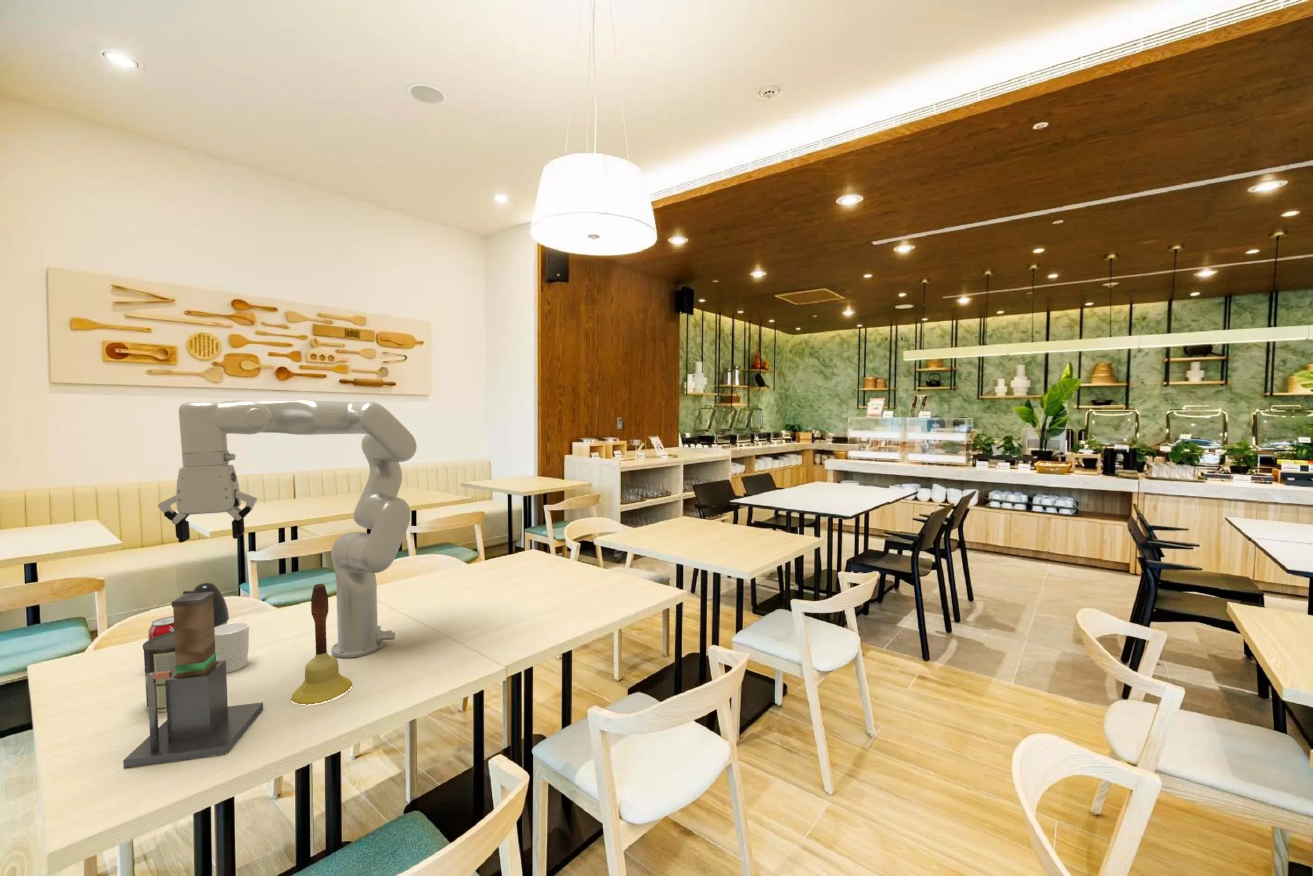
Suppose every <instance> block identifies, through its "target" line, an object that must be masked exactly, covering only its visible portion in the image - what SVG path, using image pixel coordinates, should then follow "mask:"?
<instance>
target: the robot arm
mask: <svg viewBox="0 0 1313 876" xmlns="http://www.w3.org/2000/svg"><path fill="white" fill-rule="evenodd" d="M178 418H179V420H178V421H179V431H180V432H179V433H180V444H181V457H182V458H181V459H182V466H181V467H179V470H178V474H177V479H176V480H177V481H176V490H175V491H176V494H175V495H174V496H172V497H170V498H167V499H165V500H163V501H161V502H160V503H158V504H157V507H158V508H159V510H160V511H161V513H163V516H164V517H165V518H167V519H168V520H169V521H171V523H172V524H173V525H175V537H176V538H177V540H178V543H185V542H186V541H188V540H190V539H191V538H190V537H191V535H190V533H191V531H190V525H189V524H190V522H189V521H188V520H187V518H188V517H189V516H190V515H202V514H203V515H205V514H220V513H227V514H228V515H229V516H231V517H232V518H233V520H231V532H232V539H240V538H241V537H242V536H243V534H244V533H245V517H247V516H248V514H250V512H252V510H253V508H254V507H255V505H256V503H257V501H258V499H257V497H256V496H253V495H250V494H247V493H245V492H242V491H240V490H241V489H240V484H239V481H238V480H239V479H238V476H237V471H236V468H235V466H234V464H229V463H230V461H235V460H236V454H235V453H230V451H229V450H228V439H227V435H228V434H235V435H257V434H259V433H260V434H263V433H269V434H271V433H272V434H275V433H276V434H288V435H301V436H302V435H305V436H308V435H309V436H310V435H311V436H314V435H318V436H319V435H349V434H350V435H354V434H356V435H357V434H360V435H364V436H363V438H362V440H361V450H362V452H363V454H364V457H365V458H366V460H367V463H368V466H369V475H368V477H367V481H366V484H365V486H364V488H363V490H362V492H361V495H360V497H359V500H358V501H357V503H356V506H355V508H354V512H353V521H354V522H355V524H356V525H357V526H359V527H361V528H364V529H369V530H370V533H366V532H360V531H349V532H346V533H344V534H342V535H340V536H338V537H337V538H336V539H335V541H334V543H333V544H332V547H331V554H330V555H331V561H332V566H333V570H334V575H335V584H336V585H335V586H336V616H337V617H336V618H337V621H336V623H337V624H336V625H337V642H336V643H335V644H334V645H332V646H331V650H330V651H331V654H332V656H334V657H335V658H341V659H342V658H343V659H346V658H347V659H348V658H350V657H351V658H358V657H363V656H366V655H369V654H372V653H374V651H375V652H376V650H377V651H378V650H380V649H381V648H383V646H384V645H385V641H390V640H391V641H393V640H395V638H396V632H395V631H394V632H393V630H392V629H390V630H389V629H388V630H383V629H382V626H381V625H378V623H379V622H378V597H377V596H378V595H377V594H378V593H377V591H378V590H377V589H378V588H377V587H378V585H377V577H376V574H378V573H382V572H384V571H386V570H387V569H388V568H389V567H390V566H391V565H392V563H393V562H394V560H395V559H396V557H397V556H398V555H397V554H398V552H399V550H400V548H401V545H402V542H403V540H404V538H405V535H406V532H407V531H408V528H409V525H410V522H411V521H410V520H411V508H410V506H409V504H408V502H407V501H406V500H404V499H403V498H401V497H398V494H399V491H400V488H401V485H402V481H403V473H402V472H403V471H402V467H401V465H400V463H403V462H407V461H410V460H411V459H412V458H413V457H414V455H415V454H416V452H417V448H418V447H417V441H416V439H415V437H414V436H413V434H412V433H411V432H410V431H409V430H408V429H407V428H406V426H404V425H403V424H402V422H400V421H399V420H398V418H396V417H395V415H393V414H392V412H390V411H389V410H388V409H387V408H386V407H385V406H383V405H382V404H380V403H377V402H374V401H339V400H338V401H335V400H332V401H331V400H309V399H307V400H306V399H304V400H289V401H254V400H225V401H224V400H223V401H221V402H215V401H214V402H213V401H204V402H202V401H199V402H198V401H197V402H196V401H195V402H194V401H193V402H184V403H181V404H180V406H179V408H178ZM242 501H243V502H245V505H244V508H242V509H241V508H240V507H241V504H242ZM175 503H176V509H177V512H176V511H175V510H173V509H172V505H173V504H175Z"/></svg>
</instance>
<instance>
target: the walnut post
mask: <svg viewBox="0 0 1313 876" xmlns="http://www.w3.org/2000/svg"><path fill="white" fill-rule="evenodd" d="M213 597H214V592H201V593H187V594H184V595H183V594H182V595H181V596H179V597H177V598H176V599H173V600H172V601H171V608H172V609H173V610H172V612H173V614H172V615H173V616H174V635H175V656H176V665H175V670H176V677H177V678H178V677H187V676H197V675H205V674H207V673H208V672H209V671H210V670H211V669H212V668H213V667H215V666H216V652H215V631H214V608H213Z"/></svg>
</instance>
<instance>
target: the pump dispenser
mask: <svg viewBox="0 0 1313 876" xmlns="http://www.w3.org/2000/svg"><path fill="white" fill-rule="evenodd" d="M201 592H214V597H213V608H214V628H216V627H218V626H221V625H225V624H228V621H229V619H230V614H229V608H228V605H227V603H226V599H225V598H224V595H223V593H222V592H221V590H220V589H219V587H218V586H217V585H216V584H214V583H212V582H202V583H199V584H197V585H196V586H195V587H194V588H193V589H192V590H184V591H183V592H182V595H184V594H187V593H201Z"/></svg>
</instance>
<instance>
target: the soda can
mask: <svg viewBox="0 0 1313 876" xmlns="http://www.w3.org/2000/svg"><path fill="white" fill-rule="evenodd" d="M170 632H174V615H172V616H165V617H161V618H158V619H155V620H153V621H152V622H151V623H150V628H149V629H148V637H147V638H148V640H150V639H152V638H154V637H157V636H160V635H163V634H167V633H170ZM148 640H147V641H148Z"/></svg>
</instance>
